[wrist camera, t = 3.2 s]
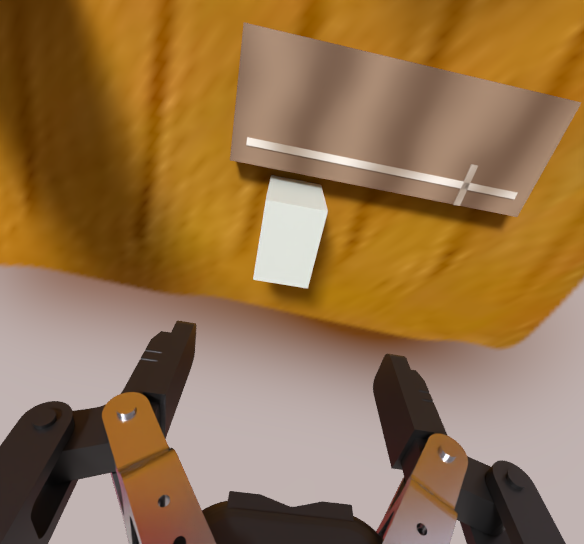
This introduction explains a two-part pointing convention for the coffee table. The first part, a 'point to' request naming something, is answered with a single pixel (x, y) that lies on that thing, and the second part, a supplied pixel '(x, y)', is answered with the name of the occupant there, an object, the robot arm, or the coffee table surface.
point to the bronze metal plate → (391, 123)
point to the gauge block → (290, 232)
